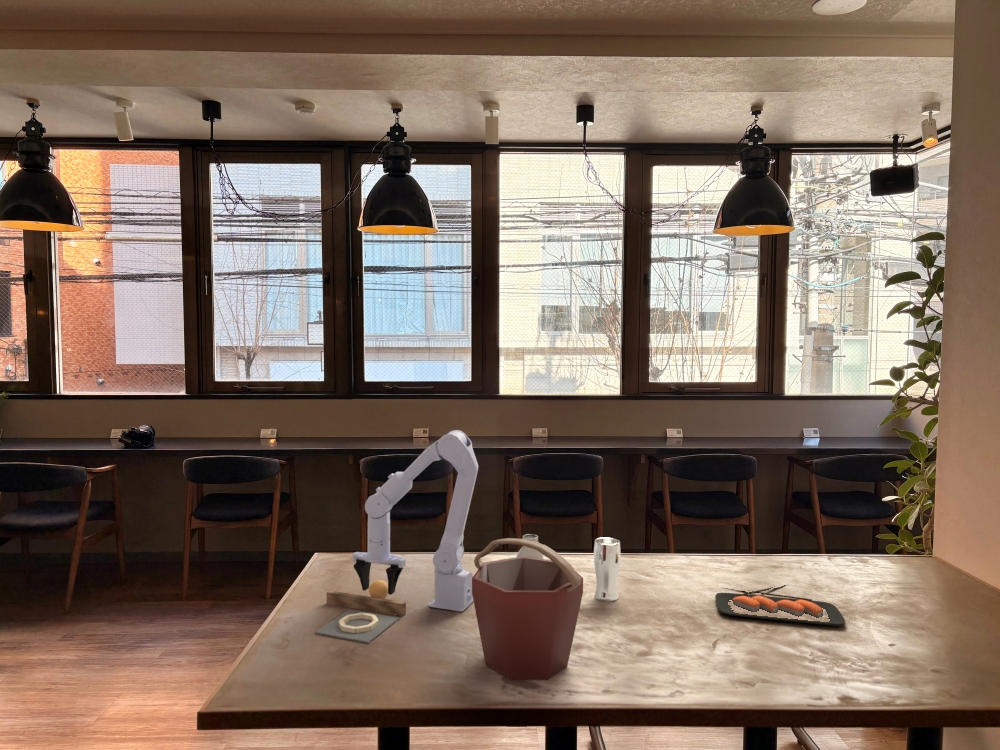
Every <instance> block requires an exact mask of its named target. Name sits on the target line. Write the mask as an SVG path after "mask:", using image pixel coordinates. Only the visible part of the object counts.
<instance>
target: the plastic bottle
mask: <svg viewBox="0 0 1000 750" xmlns="http://www.w3.org/2000/svg"><path fill="white" fill-rule="evenodd" d="M522 539H526V540H530V541H534V542H537V543H539V536H538V535H537V534H532V533H531V534H530V533H527V534H524V535H522ZM516 554H517V555H516V557H522V556H525V557H532V558H539V559H544V555H543V554H542V553H540V552H539V551H537V550H535V549H532V548H529V547H526V546H522V547H521V548H520V549H519V550H518V553H516Z"/></svg>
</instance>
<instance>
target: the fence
mask: <svg viewBox="0 0 1000 750" xmlns="http://www.w3.org/2000/svg"><path fill="white" fill-rule="evenodd" d="M326 604H327V605H332V606H339V607H345V608H350V609H357V610H364V611H368V610H369V612H374V611H377V612H376V613H380V612H383V613H382V614H387V613H390V614H389V615H393V614H396V615H395V616H399V615H402V616H401V617H404V616H406V615H407V602H405V601H401V600H395V599H393V600H392V599H388V598H384V599H381V598H375V597H371V596H368V595H361V594H355V593H348V592H341V591H336V590H328V591H326ZM405 614H406V615H405Z"/></svg>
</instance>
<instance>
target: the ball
mask: <svg viewBox="0 0 1000 750" xmlns="http://www.w3.org/2000/svg"><path fill="white" fill-rule="evenodd" d="M368 593H369V597H375V598H381V599H386V598H387V596H388V595H389V594H388V583H387V582H385V580H382V579H381V580H380V579H377V580H375V581H373V582H372V583H371V584H369V588H368Z"/></svg>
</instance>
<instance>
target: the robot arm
mask: <svg viewBox="0 0 1000 750" xmlns="http://www.w3.org/2000/svg"><path fill="white" fill-rule="evenodd" d="M443 459H445V460H446V461H447V462H449V463H450V464H451V465H452V467H454V469H455V471H456V472H457V475H456V476H457V477H456V481H455V485H454V488H453V494H452V498H451V503H450V507H449V510H448V514H447V519H446V524H445V528H444V533H443V535H442V537H441V540H440V544H439V546H438V549H437V550H436V551H435V552H434V555H433V557H432V564H433V566H434V598H433V600H432V601H430V603H428V605H427V607H429V608H433V609H442V610H446V611H447V610H449V611H454V612H463V611H464V610H466V609H467V608H468V607H469V606H471V604H473V603H474V601H473V595H472V578H473V576H474V575H473V573H472V572H471V571H467V570H465V569H464V566H463V563H462V562H461V559H462V558H463V556H464V553H465V548H464V543H463V542H464V539H465V537H464V532H465V529H466V527H465V526H466V524H467V523H466V522H467V519H468V514H469V511H470V506H471V501H472V498H473V493H474V489H475V484H476V481H477V478H478V477H477V476H478V471H479V463H478V460H477V457H476V455H475V451H474V449H473V442H472V440H471V439H470V438H469V437H468V435H466V433H465V432H464V431H462V430H459V429H453V430H451V431H448V433H447V434H444V435H442V436H441V437H440V438H439V439H438V440H436V441H434V442H433V443H432V444H430V445H429V446H427V447H426V448H425V449H424V450H423V451H422V453H421V454H419V455H418V457H417V458H416V459H415V460H413V462H411V464H410V465H409V466H408V467H407V468H406V469H405V470H404V471H396V472H395V473H391V474H389V475H388V476H387V478H388V479H387V481H386V482H385V483H383V484H382V486H381V487H380V486H378V487H377V488H376V489H375V491H376V493H374V494H372V495H370V496H368V498H367V499H366V501H365V504H364V511H365V513H366V514H367V552H364V551H363V552H362V551H361V552H360V551H356V552H354V553H352V562H355V563H354V564H353V569H354V570H355V571H356V573H357V576H358V578H359V580H360V584H361V589H362V591H367V590H369V588H370V574H371V566H372V564H377V565H385V566H388V567H387V568H386V569H385V572H386V578H387V585H388V594H387V595H391V596H392V594H395V591H396V587H397V583H398V580H399V577H400V575H401V573H402V571H403V569H404V567H406V558H405V557H399V556H396V555H393V554H391V510H392V508H393V507H394V505H396V504H397V503H398V502H399V501H400V500H401V499H402V498H403V497H404V496H405V495H406V494H407V493H409V491H410V490H412V488H413V480H415V478H416V477H418V476H419V475H420V474H421V473H422V472H423V471H424V470H426V468H427V467H429V465H431V464H432V463H433V462H436V461H440V460H441V461H442V460H443Z"/></svg>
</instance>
